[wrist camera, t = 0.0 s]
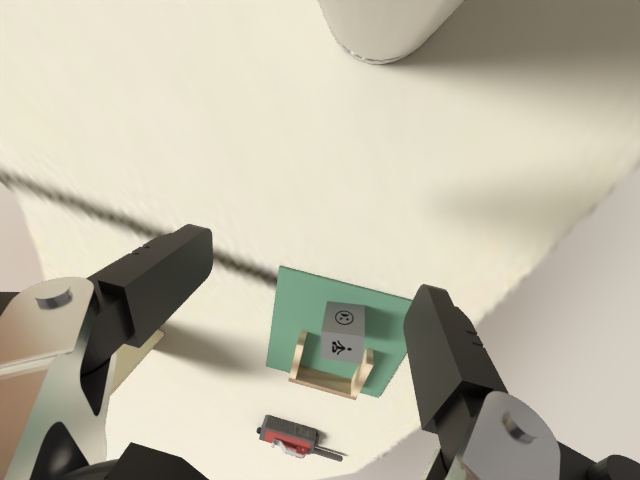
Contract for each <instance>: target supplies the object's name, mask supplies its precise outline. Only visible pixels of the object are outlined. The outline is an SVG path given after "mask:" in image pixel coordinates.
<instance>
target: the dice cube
mask: <svg viewBox="0 0 640 480" xmlns="http://www.w3.org/2000/svg"><path fill="white" fill-rule="evenodd" d="M364 338H365V305H359V304H349V303H340V302H331V301H327V304H326V309H325V314H324V319H323V324H322V329H321V358H322V359H329V360H336V361H343V362H350V363H357V364H362V356H363V347H364Z"/></svg>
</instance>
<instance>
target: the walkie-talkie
mask: <svg viewBox="0 0 640 480" xmlns="http://www.w3.org/2000/svg"><path fill="white" fill-rule="evenodd" d="M316 431H317V430H316V429H314V428H310V427H307V426H304V425H300V424H297V423H294V422H291V421H286V420H284V419H280V418H277V417H274V416H270V415H266V416H265V419H264V422H263V425H262V428H261V427H259V428H257V431H256V432H257V433H258V434H260V437H259V439H260V440H263V441H266V442H269V443H272V446H271V447H272V448H274V447H275V445H278V446H280V447H281V449H282V450H283V452H284V453H285V454H288V455H291V456H295V457H298V458H304V457H305V455H307V454H310V453H311V454H313V453H314V454H317V455H320V456H324V457H327V458H330V459H333V460H337V461H340V462H341V461H342V456H340V455H337V454H334V453H331V452H328V451H324V450H321V449H318V448H315V447H317V444H318V440H319V435H318V434H316ZM314 446H315V447H314Z"/></svg>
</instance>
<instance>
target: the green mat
mask: <svg viewBox="0 0 640 480" xmlns="http://www.w3.org/2000/svg"><path fill="white" fill-rule="evenodd" d="M327 301H331V302H340V303H349V304H359V305H365V338H364V347H363V354H364V352H365V350H366V348H369V349H373V367H372V369H371V371H370V373H369V375H368V377H367V379H366V381H365V383H364V385H363V386H362V388H361V390H360V393H363V394H367V395H370V396H374V397H377V398H379V396H380V395H381V393H382V392H383V390H384V388H385V387H386V385H387V383H388V382H389V380H390V378H391V377H392V375H393V374H394V372H395V370H396V369H397V367H398V365H399V364H400V362H401V360H402V359H403V357H404V356H405V354H406V352H407V347H406V342H405V336H404V331H403V324H404V319H405V315H406V313H407V311H408V309H409V307H410V305H411V303H412V301H413V300H409V299H405V298H402V297H398V296H394V295H390V294H386V293H382V292H379V291H375V290H371V289H367V288H363V287H359V286H356V285H352V284H348V283H344V282H340V281H336V280H333V279H329V278H325V277H321V276H317V275H313V274H310V273H306V272H302V271H298V270H294V269H290V268H287V267H283V266H280V267H279V273H278V280H277V288H276V295H275V303H274V310H273V318H272V326H271V333H270V341H269V348H268V356H267V364H266V366H267V367H271V368H274V369H278V370H281V371H285V372H289V373H290V372H291V368H292V363H293V359H294V354H295V350H296V345H297V342H298V338H299V335H300V331H301V330H303V331H307V335H306V339H305V343H304V347H303V351H302V355H301V359H300V363H299V365H302V366H305V367H309V368H313V369H316V370H320V371H323V372H327V373H331V374H334V375H338V376H341V377H345V378H348V379H352V378H353V375H354V373H355V371H356V369H357V367H358V365H359V364H357V363H350V362H343V361H336V360H329V359H322V358H321V329H322V324H323V319H324V314H325V309H326V304H327Z"/></svg>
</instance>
